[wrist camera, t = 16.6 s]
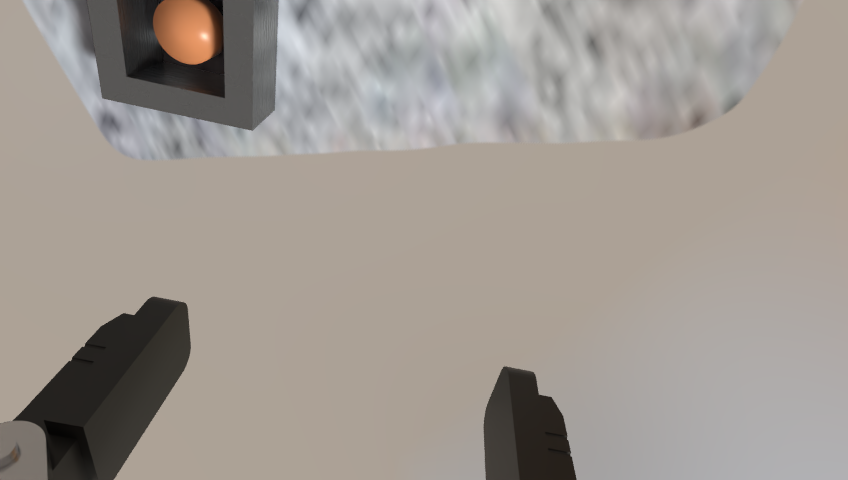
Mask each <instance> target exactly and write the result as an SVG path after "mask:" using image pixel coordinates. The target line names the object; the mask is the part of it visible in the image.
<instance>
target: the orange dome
mask: <svg viewBox="0 0 848 480" xmlns="http://www.w3.org/2000/svg"><path fill="white" fill-rule="evenodd" d="M153 27H154V32H155V35H156V37H157V40H158V41H159V43H160V45H161V46H162V48H163V49H164V50H165V51H166V52H167V53H168V54H169V55H170V56H171V57H173V58H174V59H176V60H178V61H180V62H182V63H186V64H199V63H202V62H204V61H207V60H209V59H211V58H213V57H215V56H217V55H218V54H219V53H221V52H222V50H223V49H224V29H223V16H222V15H221V13H220V12H219V10H218V9H217V8H216V7H215V6H214V5H213V4H212V3H211V2H210V1H208V0H164V1H162V2H161V3H160V4H159V5H158V6H157V8H156V10H155V12H154V16H153Z"/></svg>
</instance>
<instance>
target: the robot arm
mask: <svg viewBox="0 0 848 480" xmlns="http://www.w3.org/2000/svg"><path fill="white" fill-rule="evenodd" d="M190 349H191V345H190V332H189V319H188V308H187V305H186V303H184V302H179V301H174V300H169V299H163V298H158V297H151V298H149V299H148V300H147V301H146V302H145V303H144V305H143V306H142V307H141V308H140V309H139V310H138V311H137V313H136V314H135V315H130V314H125V313H123V314H121V315H120V316H118V317H116V318H115V319H113V320H111V321H109V322H108V323H106V324H104V325H103V326H101V327H100V328H99V329H98V330H97V331H96V333H95V334H94V335H93V336H92V337H91V338H90V339H89V340H88V341H87V342H86V344H85V347H82V348H81V349H80V350H79V351H78V352H77V353H76V354H75V355H74V356H73V357H72V360H71V361H69V362H68V363H67V364H66V365H65V366H64V367H63V368H62V369H61V370H60V371H59V372H58V373H57V374H56V376H55V377H54V378H53V379H52V380H51V381H50V382H49V383H48V384H47V385H46V386H45V387H44V389H43V390H42V391H41V392H40V393H39V394H38V395H37V396H36V397H35V398H34V399H33V400H32V401H31V403H30V404H29V405H28V406H27V407H26V408H25V409H24V410H23V411H22V412H21V413H20V414H19V415H18V416H17V417H16V418H15V419H14V420H13V421H9V422H4V423H0V480H113V479H114V478H115V477H116V475H117V473H118V472H119V470H120V469H121V467H122V466H123V464H124V463H125V461H126V460H127V458H128V456H129V455H130V453H131V452H132V450H133V449H134V447H135V446H136V444H137V442H138V441H139V439H140V438H141V436H142V434H143V433H144V432H145V430H146V428H147V427H148V425H149V424H150V422H151V421H152V419H153V418H154V416H155V414H156V413H157V411H158V410H159V408H160V407H161V405H162V404H163V402H164V400H165V399H166V397H167V396H168V394H169V393H170V391H171V389H172V388H173V386H174V385H175V383H176V382H177V380H178V379H179V377H180V376H181V374H182V372H183V371H184V369H185V367H186V364H187V362H188V359H189V355H190ZM484 447H485V469H486V480H576V475H575V470H574V466H573V461H572V457H571V456H570V453H571V451H570V446H569V442H568V440H567V432H566V428H565V423H564V418H563V415H562V413H561V412H560V410H559V409H558V407H557V405H556V404H555V402H554V401H553V399H552V397H548V396H542V395H539V393H538V387H537V381H536V376H535V374H534V372H531V371H526V370H521V369H515V368H510V367H503V369H502V370H501V373H500V375H499V378H498V380H497V382H496V385H495V387H494V390H493V392H492V394H491V397H490V399H489V402H488V404H487V407H486V412H485V418H484Z"/></svg>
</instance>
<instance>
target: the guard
mask: <svg viewBox="0 0 848 480" xmlns="http://www.w3.org/2000/svg"><path fill="white" fill-rule="evenodd" d="M87 5H88V11H89V17H90V24H91V30H92V36H93V42H94V49H95V55H96V61H97V68H98V74H99V80H100V87H101V93H102V98H103V99H108V100H112V101H117V102H122V103H126V104H131V105H136V106H140V107H145V108H150V109H154V110H159V111H164V112H168V113H173V114H178V115H182V116H187V117H192V118H196V119H201V120H206V121H210V122H215V123H220V124H224V125H229V126H234V127H238V128H243V129H248V130H252V131H253V130H254V129H255V128H256V127H257V126H258V125H259V124H260V123H261V122H262V121H263V120H264V119H266V118H267V117H268V116H269V115H270V114H271V113H272V112H273V111H274V110H275V84H276V56H277V27H278V0H223V29H224V75H222V74H218V73H213V72H209V71H204V70H200V69H195V68H190V67H186V66H181V65H177V64H172V63H168V62H163V53H162V46H161V45H160V43H159V41H158V40H157V37H156V35H155V32H154V27H153V16H154V12H155V10H156V8H157V6H158V0H87Z"/></svg>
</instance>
